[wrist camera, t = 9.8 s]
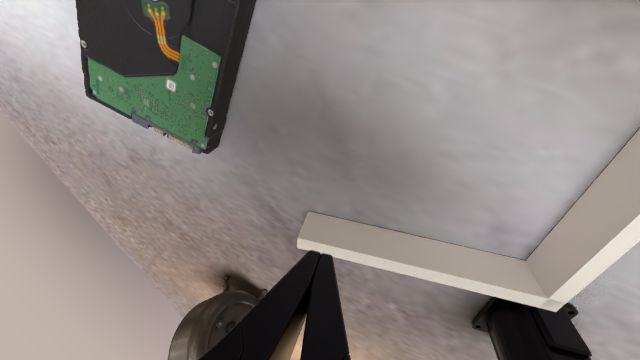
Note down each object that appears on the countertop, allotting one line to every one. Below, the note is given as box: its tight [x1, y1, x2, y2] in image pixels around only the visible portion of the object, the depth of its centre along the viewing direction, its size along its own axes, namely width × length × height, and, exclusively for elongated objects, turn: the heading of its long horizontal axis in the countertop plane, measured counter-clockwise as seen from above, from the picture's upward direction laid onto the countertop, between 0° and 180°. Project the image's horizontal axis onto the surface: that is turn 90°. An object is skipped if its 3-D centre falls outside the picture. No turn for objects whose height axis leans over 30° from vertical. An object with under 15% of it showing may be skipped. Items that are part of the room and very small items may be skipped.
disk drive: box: [76, 0, 256, 154], centre depth 17 cm, size 10×3×15 cm
